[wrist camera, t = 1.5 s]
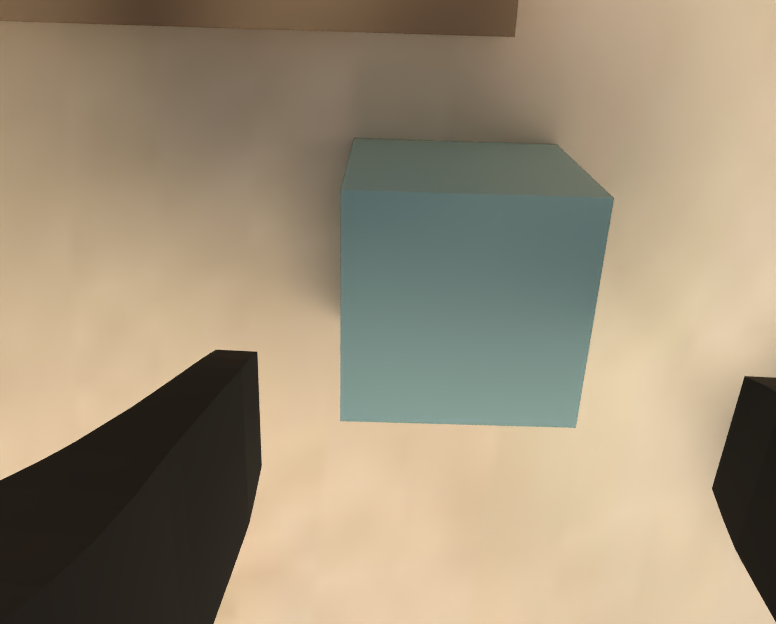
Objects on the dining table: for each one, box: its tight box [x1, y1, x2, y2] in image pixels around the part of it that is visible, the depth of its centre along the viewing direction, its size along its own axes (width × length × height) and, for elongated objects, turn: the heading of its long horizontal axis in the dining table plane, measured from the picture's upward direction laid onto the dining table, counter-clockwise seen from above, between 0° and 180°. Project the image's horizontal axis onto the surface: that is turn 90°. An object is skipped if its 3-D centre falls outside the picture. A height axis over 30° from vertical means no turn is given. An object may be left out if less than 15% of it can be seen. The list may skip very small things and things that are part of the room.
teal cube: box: [340, 138, 614, 428], centre depth 16 cm, size 5×5×5 cm
